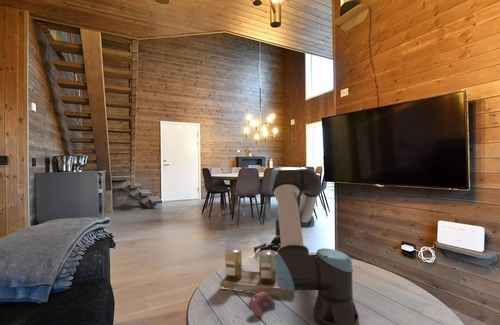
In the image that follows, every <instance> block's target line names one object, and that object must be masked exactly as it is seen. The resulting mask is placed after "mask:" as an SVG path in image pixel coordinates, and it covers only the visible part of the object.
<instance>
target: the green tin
mask: <svg viewBox="0 0 500 325" xmlns="http://www.w3.org/2000/svg"><path fill="white" fill-rule="evenodd" d="M276 254H277V252H275V251H271V249H270V250H263V251H260V252H259V256H258V261H259V262H258V266H259V267H258V268H259V269H258V270H259V271H258V272H259V281H260V282H261V283H262V284H267V285H269V284H274V283H275V282H276V273H275V265H274V256H275V255H276Z"/></svg>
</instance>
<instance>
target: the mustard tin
mask: <svg viewBox="0 0 500 325" xmlns="http://www.w3.org/2000/svg"><path fill="white" fill-rule="evenodd" d="M224 256H225V257H224V258H225V260H224V261H225V277H226V279H227V280H229V281H238V280H240V279H241V278H242V271H243V269H242V268H243V266H242V263H243V262H242V259H243V258H242V249H241V248H239V247H238V248H237V247H231V248H230V247H229V248H226V249H225V251H224Z"/></svg>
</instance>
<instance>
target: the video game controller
mask: <svg viewBox="0 0 500 325" xmlns="http://www.w3.org/2000/svg"><path fill="white" fill-rule="evenodd" d="M267 304H268V305H269V306H270V307H272V308H274V307H275V306H276V302H275V301H274V299H273V298H272V297H271V295H268V294H267V293H266V292H259V293H254V295H253V296H252V298H250V300H249V307H250V308H251V310H252V311H253V313H254V314H255V315H256V316H257V318H259V317H260V318H259V319H262V318H263V312H262V309H265V308H266V307H267Z"/></svg>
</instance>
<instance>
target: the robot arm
mask: <svg viewBox="0 0 500 325" xmlns="http://www.w3.org/2000/svg"><path fill="white" fill-rule="evenodd" d="M322 184H323V183H322V181H321V179H320V177H319V175H318V174H317V173H316V172H315V171H314V170H313V169H311V168H308V167H303V166H302V167H276V168H273V169H272V170H271V176H270V185H269V188H270V189H269V191H270V193H272V194H273V196H274V197H275V198H276V200H277V211H276V213H275V217H274V220H275V237H274V238H273V239H272V240H271V242H270V243H269V244H268V243H267V242H264V243H262V244H260V245H257V246H254V247H253V253H254V257H255V259H256V260H257V259H259V252H260V251H263V250H271V251H274V252H276V255H275V256H274V265H275V273H276V278H277V282H278V285H279V287H280V288H281V289H282V290H291V291H294V290H295V291H317V295H316V299H315V303H314V306H313V309H312V310H313V311H312V312H313V314H312V315H313V319H314V321H315V323H316V324H317V325H360V321H359V320H360V318H359V313H358V310H357V307H356V303H355V301H354V297H353V296H354V295H353V273H354V272H353V271H354V269H353V265H352V264H353V261H352V259H351V257H350V256H349V255H348V254H346V253H344V252H342V251H340V250H337V249H333V248H323V247H322V248H319V249H317V251H316V253H315V254H310V251H309V248H308V247H307V246H306V245H304V239H303V231H302V229H309V228H314V226H315V217H314V215H313V214H314V209H315V205H316V202H317V198H318V197H319V195H320V194H321V193H322V192H321V191H322V189H323V188H322V186H323V185H322ZM300 193H301V197H300V203H298V196H299V195H300ZM298 204H299V205H298Z"/></svg>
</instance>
